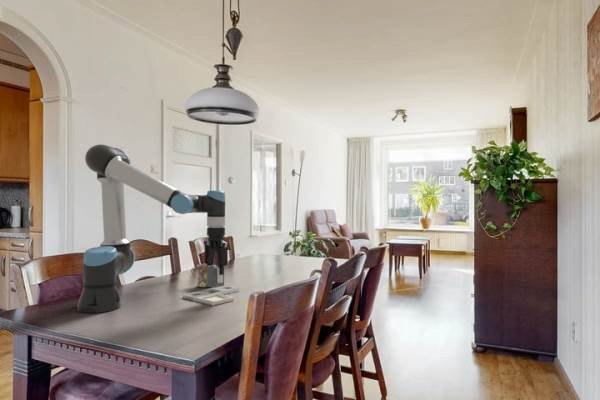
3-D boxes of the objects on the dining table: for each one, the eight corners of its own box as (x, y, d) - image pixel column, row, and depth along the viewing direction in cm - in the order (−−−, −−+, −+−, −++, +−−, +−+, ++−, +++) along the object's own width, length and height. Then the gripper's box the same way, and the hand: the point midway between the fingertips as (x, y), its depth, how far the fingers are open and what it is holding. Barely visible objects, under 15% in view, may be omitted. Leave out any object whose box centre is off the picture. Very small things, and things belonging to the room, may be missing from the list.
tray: (212, 305, 162) (213, 301, 162) (196, 301, 169) (196, 297, 169) (233, 300, 171) (233, 297, 171) (216, 296, 178) (216, 293, 178)
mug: (217, 284, 203) (217, 263, 204) (213, 288, 194) (213, 266, 194) (193, 284, 203) (193, 263, 204) (188, 288, 194) (188, 266, 194)
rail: (193, 301, 169) (193, 297, 169) (182, 298, 174) (182, 294, 174) (239, 291, 190) (239, 287, 190) (228, 288, 195) (228, 285, 195)
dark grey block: (214, 287, 166) (214, 268, 166) (207, 285, 170) (207, 267, 170) (224, 285, 170) (224, 266, 170) (216, 284, 173) (216, 265, 174)
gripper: (237, 227, 167) (236, 283, 167) (209, 225, 179) (209, 277, 179) (223, 228, 162) (222, 285, 161) (195, 226, 173) (195, 280, 173)
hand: (215, 281), depth 170 cm, fingers closed on dark grey block, 5 cm apart
